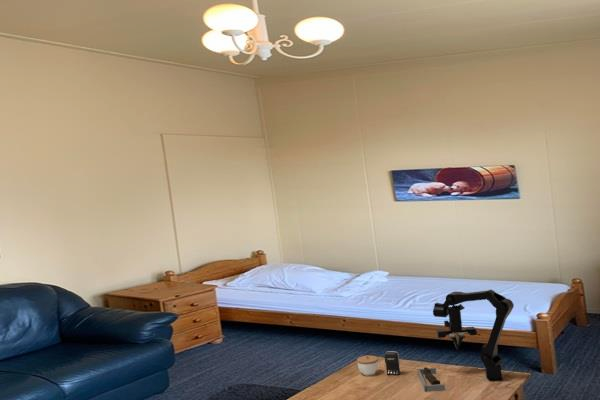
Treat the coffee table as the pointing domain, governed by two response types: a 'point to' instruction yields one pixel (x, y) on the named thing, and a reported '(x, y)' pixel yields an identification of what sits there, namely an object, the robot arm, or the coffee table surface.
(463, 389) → the coffee table surface
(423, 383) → the plate
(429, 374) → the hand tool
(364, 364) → the lidded jar
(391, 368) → the battery charger
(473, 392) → the coffee table surface
